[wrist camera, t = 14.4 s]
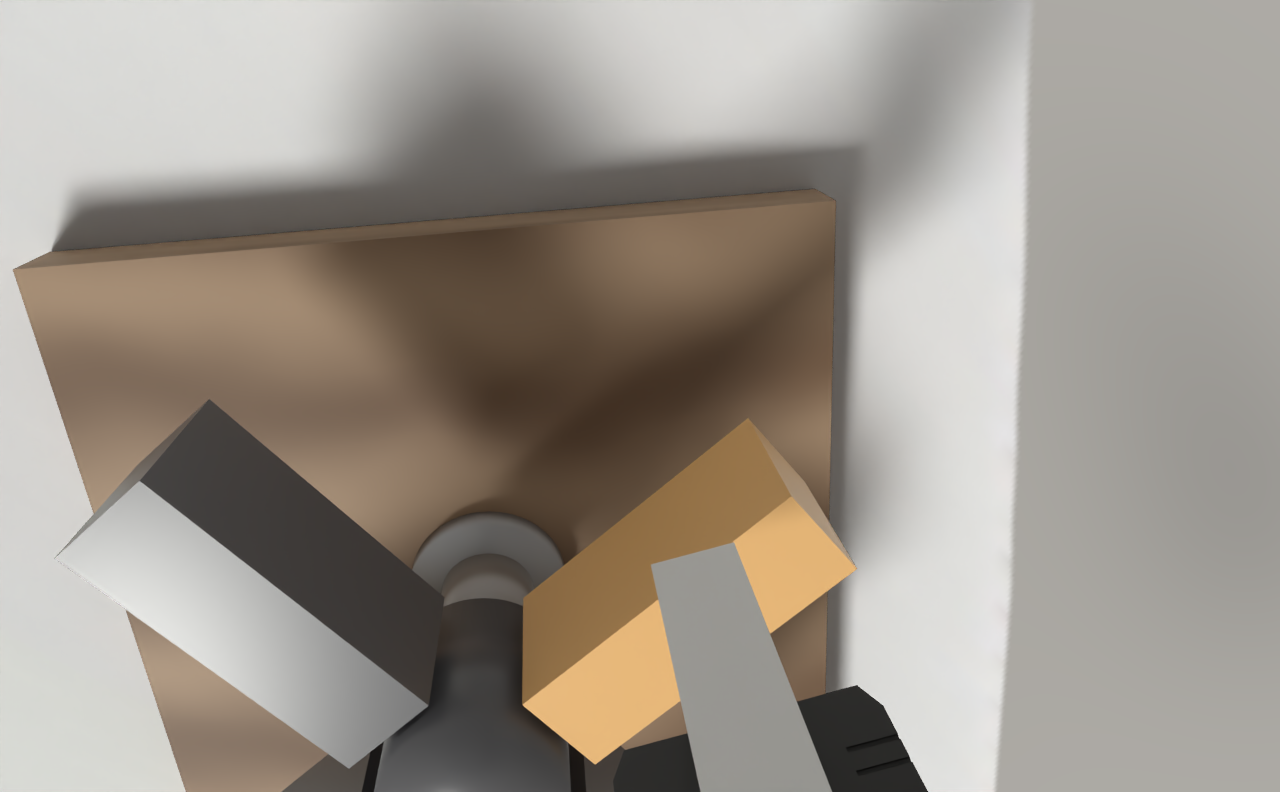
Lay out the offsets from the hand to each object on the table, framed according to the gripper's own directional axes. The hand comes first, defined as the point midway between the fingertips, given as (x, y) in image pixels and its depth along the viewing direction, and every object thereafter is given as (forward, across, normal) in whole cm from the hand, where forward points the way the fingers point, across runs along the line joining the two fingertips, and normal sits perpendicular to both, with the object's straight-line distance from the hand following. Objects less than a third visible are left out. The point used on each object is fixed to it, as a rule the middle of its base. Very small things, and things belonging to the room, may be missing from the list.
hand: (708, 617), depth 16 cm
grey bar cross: (+7, -6, -5) cm, 11 cm away
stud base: (+14, -6, -5) cm, 16 cm away
